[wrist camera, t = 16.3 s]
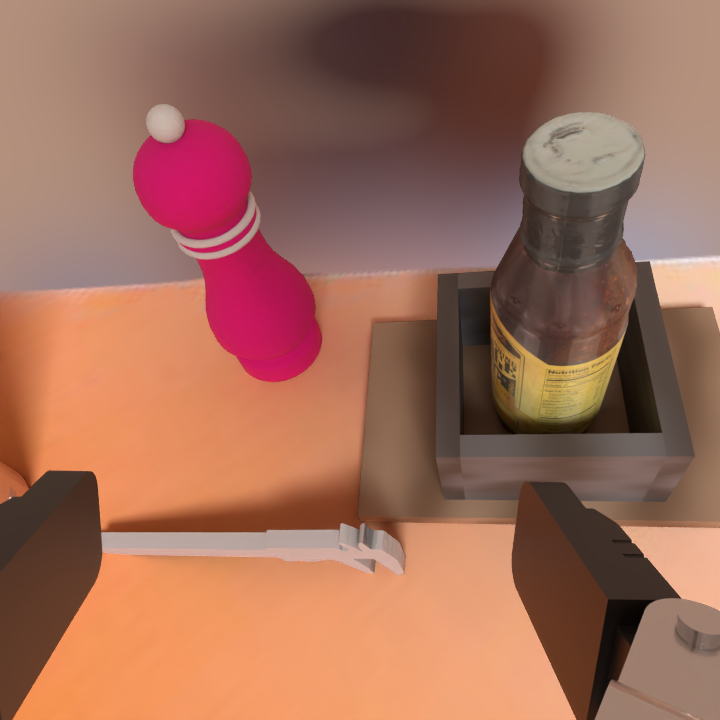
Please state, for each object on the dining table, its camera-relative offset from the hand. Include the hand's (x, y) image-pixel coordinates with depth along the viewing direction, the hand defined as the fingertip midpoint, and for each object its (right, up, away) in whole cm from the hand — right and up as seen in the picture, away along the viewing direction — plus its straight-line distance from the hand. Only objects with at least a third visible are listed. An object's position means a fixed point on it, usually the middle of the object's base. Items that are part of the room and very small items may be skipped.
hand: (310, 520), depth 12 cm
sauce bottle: (+12, 0, +26) cm, 29 cm away
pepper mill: (-5, +4, +34) cm, 34 cm away
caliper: (-6, -9, +26) cm, 28 cm away
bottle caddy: (+12, 0, +27) cm, 29 cm away
